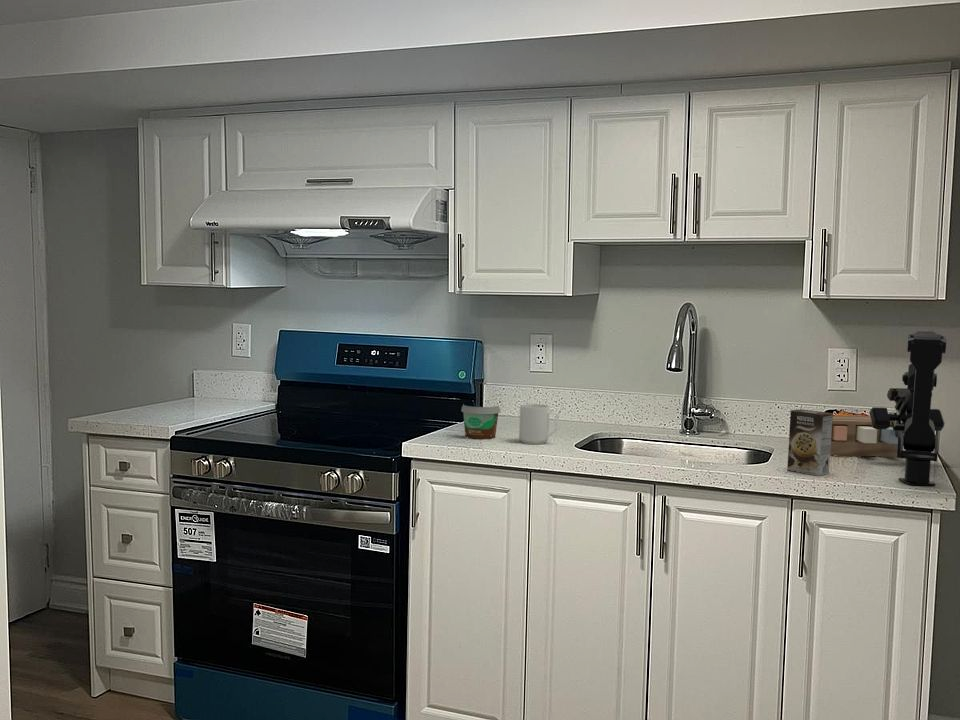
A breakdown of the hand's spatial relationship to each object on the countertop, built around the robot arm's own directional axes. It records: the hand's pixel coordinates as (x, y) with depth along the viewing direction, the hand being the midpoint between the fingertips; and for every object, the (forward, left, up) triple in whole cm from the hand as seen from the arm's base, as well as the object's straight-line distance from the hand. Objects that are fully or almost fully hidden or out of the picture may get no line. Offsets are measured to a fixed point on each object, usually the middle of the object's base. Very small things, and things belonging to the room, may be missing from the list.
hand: (897, 436), depth 267 cm
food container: (+25, +118, -7) cm, 121 cm away
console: (+12, +7, -7) cm, 15 cm away
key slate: (+4, 0, -2) cm, 4 cm away
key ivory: (+4, +7, -2) cm, 8 cm away
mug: (+19, +100, -7) cm, 102 cm away
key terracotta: (+7, +14, -2) cm, 16 cm away
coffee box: (-19, +32, -7) cm, 38 cm away
